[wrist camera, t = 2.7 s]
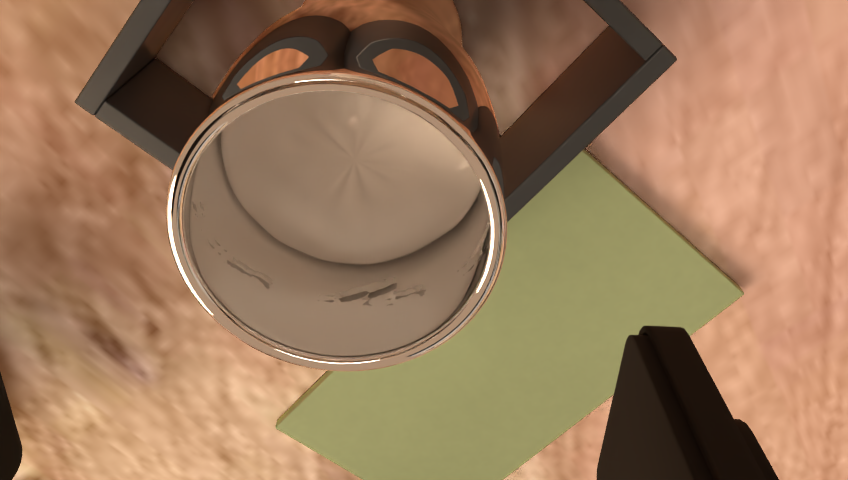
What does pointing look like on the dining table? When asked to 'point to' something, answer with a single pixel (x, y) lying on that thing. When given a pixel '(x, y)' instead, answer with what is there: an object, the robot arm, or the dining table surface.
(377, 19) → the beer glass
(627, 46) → the basin
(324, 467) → the dining table surface
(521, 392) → the drying mat
